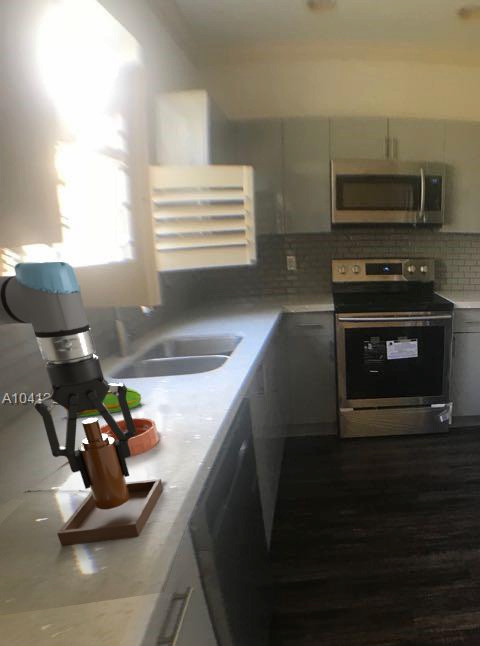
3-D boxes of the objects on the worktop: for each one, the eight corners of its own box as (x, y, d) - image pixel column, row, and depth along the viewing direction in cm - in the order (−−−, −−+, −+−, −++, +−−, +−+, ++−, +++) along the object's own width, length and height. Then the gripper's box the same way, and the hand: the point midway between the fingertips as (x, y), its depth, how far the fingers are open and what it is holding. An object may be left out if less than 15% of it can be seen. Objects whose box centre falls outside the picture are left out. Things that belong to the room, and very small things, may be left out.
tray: (98, 496, 93) (95, 485, 92) (163, 489, 95) (160, 478, 94) (61, 546, 79) (57, 533, 78) (138, 536, 81) (135, 524, 80)
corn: (137, 387, 134) (56, 399, 127) (142, 411, 136) (64, 424, 129) (138, 381, 141) (62, 392, 133) (144, 405, 143) (69, 417, 136)
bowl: (80, 461, 108) (74, 442, 106) (117, 435, 121) (112, 418, 120) (139, 461, 107) (134, 442, 105) (169, 435, 120) (165, 417, 119)
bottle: (89, 509, 84) (63, 427, 78) (108, 492, 89) (85, 414, 83) (118, 509, 83) (94, 427, 77) (136, 492, 88) (114, 414, 82)
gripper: (-1, 375, 68) (46, 507, 76) (136, 351, 78) (165, 470, 86) (1, 364, 74) (45, 488, 82) (129, 344, 84) (156, 456, 92)
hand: (106, 479), depth 84 cm, fingers closed on bottle, 6 cm apart
